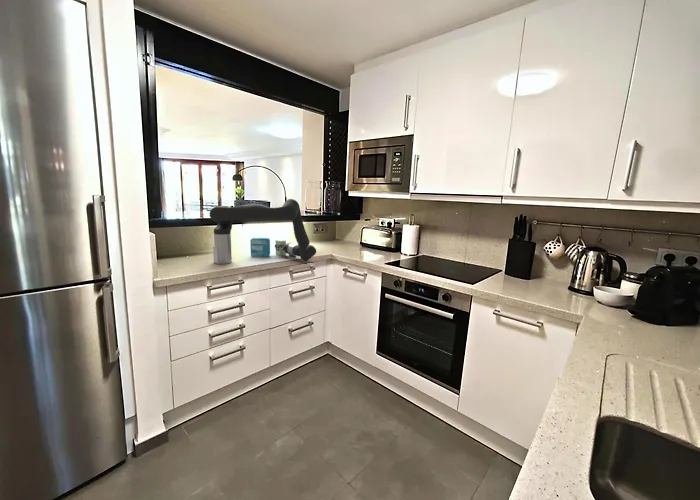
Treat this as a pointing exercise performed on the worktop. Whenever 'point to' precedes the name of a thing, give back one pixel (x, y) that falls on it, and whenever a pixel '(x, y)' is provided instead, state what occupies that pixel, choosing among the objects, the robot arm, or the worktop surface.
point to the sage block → (280, 252)
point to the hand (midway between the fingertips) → (278, 245)
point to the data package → (260, 247)
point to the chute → (287, 257)
